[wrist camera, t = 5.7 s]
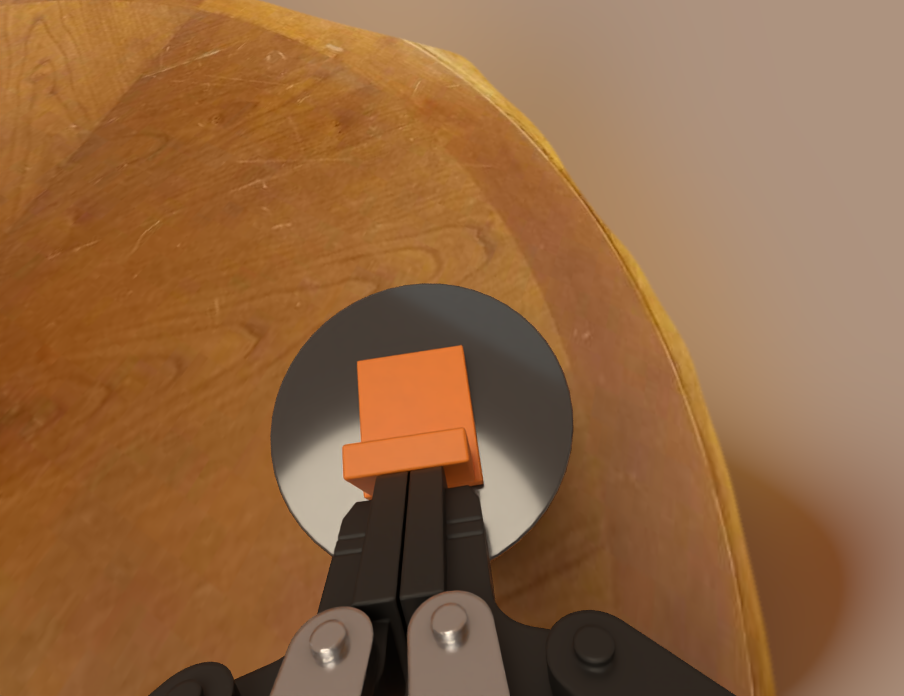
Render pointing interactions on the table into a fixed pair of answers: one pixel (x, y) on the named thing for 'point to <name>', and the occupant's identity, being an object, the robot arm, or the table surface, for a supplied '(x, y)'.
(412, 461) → the slider
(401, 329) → the lidded canister
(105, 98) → the table surface
